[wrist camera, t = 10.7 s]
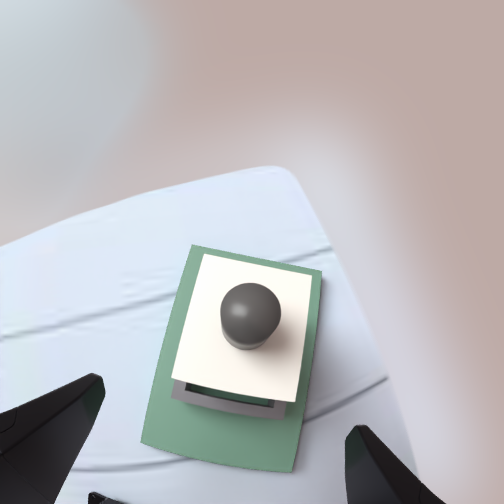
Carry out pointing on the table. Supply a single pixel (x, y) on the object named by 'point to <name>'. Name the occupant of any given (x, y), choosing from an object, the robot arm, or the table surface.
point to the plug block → (245, 329)
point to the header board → (226, 394)
